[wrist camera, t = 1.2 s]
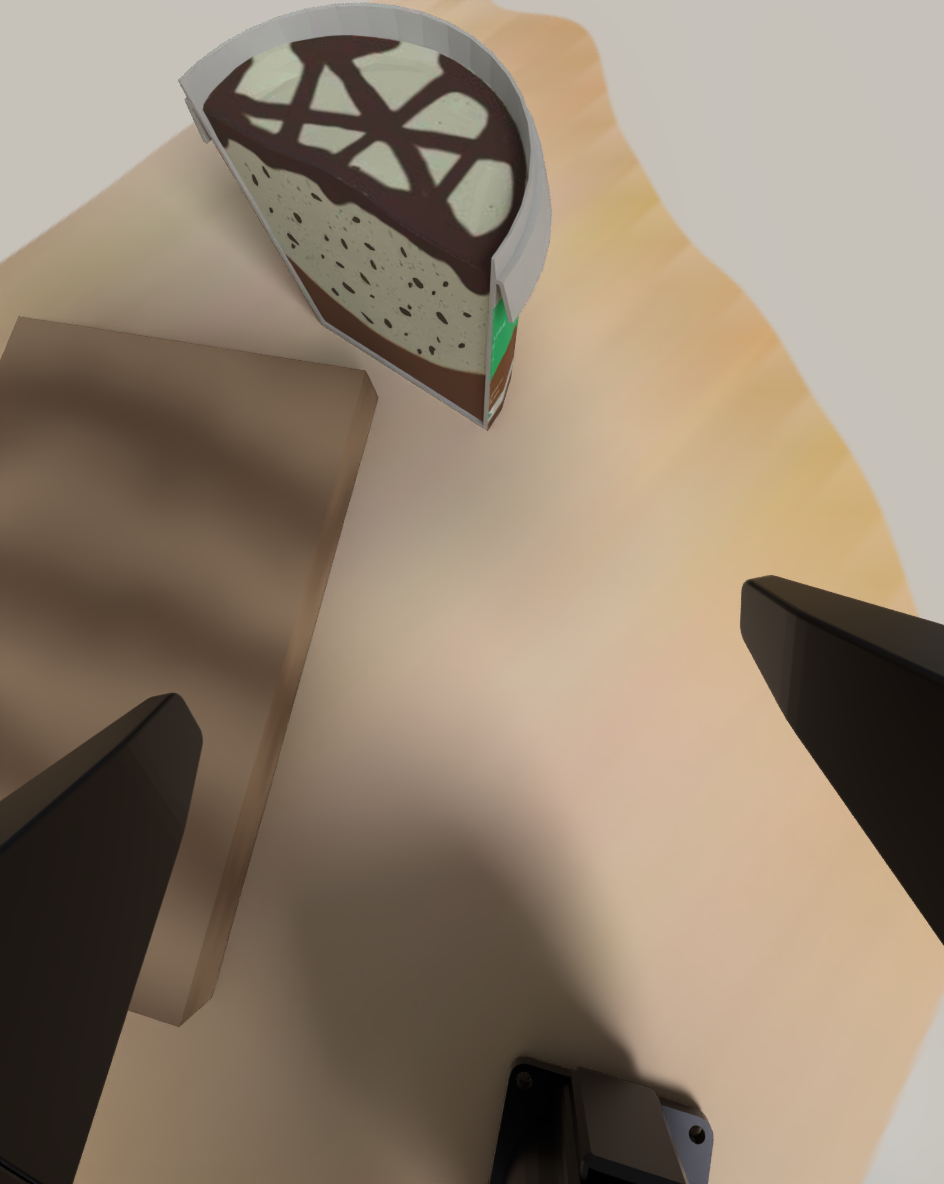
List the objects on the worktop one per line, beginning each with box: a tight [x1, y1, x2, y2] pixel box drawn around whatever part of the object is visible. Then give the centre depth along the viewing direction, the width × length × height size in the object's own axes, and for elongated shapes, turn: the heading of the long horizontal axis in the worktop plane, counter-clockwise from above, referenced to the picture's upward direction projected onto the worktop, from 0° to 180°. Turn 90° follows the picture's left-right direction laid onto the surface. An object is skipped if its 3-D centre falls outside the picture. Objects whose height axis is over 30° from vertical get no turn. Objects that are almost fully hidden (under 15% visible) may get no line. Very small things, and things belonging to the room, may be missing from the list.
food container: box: [178, 3, 552, 431], centre depth 21 cm, size 12×6×10 cm, turn 54°
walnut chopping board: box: [0, 317, 378, 1027], centre depth 23 cm, size 24×16×2 cm, turn 167°
